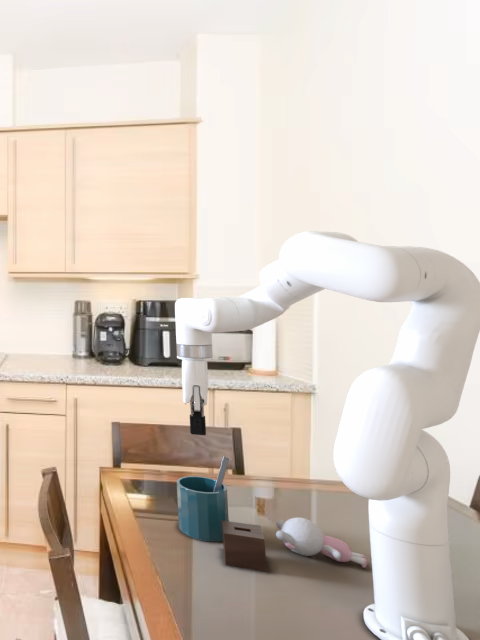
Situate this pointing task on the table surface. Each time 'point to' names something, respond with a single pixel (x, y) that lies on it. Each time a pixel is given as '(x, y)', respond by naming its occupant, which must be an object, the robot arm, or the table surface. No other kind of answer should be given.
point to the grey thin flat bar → (221, 474)
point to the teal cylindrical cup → (201, 508)
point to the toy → (314, 541)
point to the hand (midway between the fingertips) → (198, 433)
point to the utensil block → (244, 545)
